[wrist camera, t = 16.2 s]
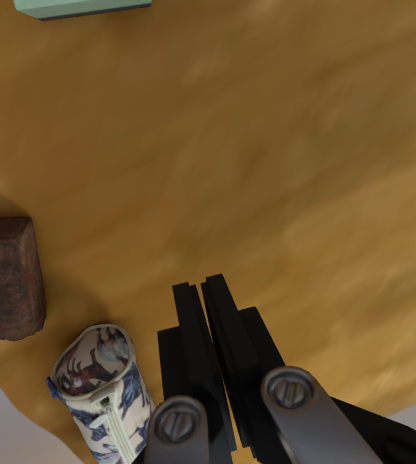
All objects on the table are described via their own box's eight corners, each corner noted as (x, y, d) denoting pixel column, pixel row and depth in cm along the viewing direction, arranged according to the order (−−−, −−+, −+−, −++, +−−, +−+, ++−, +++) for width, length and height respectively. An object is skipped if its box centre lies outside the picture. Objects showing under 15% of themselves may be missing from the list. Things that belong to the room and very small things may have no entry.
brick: (-16, 216, 32) (-37, 240, 28) (33, 215, 33) (19, 239, 29) (7, 314, 37) (-9, 348, 32) (49, 311, 37) (39, 343, 33)
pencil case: (52, 332, 38) (30, 413, 30) (131, 310, 39) (132, 382, 30) (116, 455, 48) (113, 542, 40) (178, 435, 49) (189, 517, 40)
